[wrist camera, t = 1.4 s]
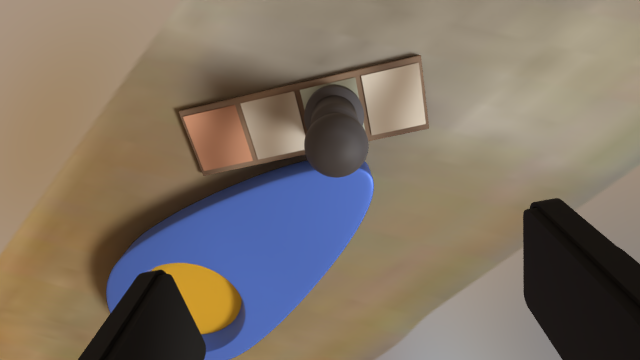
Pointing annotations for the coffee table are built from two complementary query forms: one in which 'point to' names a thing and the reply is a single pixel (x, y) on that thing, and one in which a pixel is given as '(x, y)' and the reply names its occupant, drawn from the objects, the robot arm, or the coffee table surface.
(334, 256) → the location marker
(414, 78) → the board
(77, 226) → the coffee table surface
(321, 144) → the pawn
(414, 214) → the coffee table surface
